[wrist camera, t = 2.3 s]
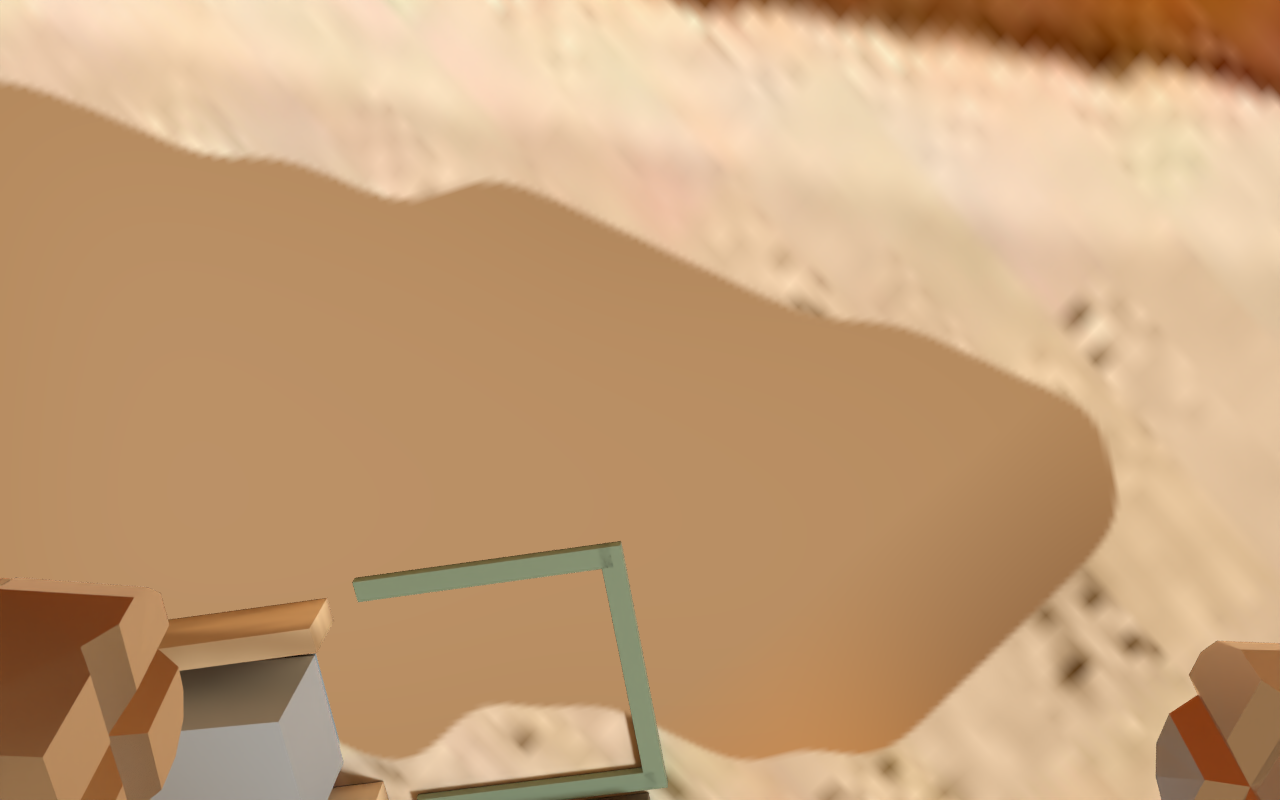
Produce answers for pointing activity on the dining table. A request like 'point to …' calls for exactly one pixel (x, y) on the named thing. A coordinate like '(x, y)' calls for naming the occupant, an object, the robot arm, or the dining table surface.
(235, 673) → the block
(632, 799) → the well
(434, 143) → the dining table surface
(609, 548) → the frame
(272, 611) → the beige c-shaped frame
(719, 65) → the dining table surface
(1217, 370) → the dining table surface
